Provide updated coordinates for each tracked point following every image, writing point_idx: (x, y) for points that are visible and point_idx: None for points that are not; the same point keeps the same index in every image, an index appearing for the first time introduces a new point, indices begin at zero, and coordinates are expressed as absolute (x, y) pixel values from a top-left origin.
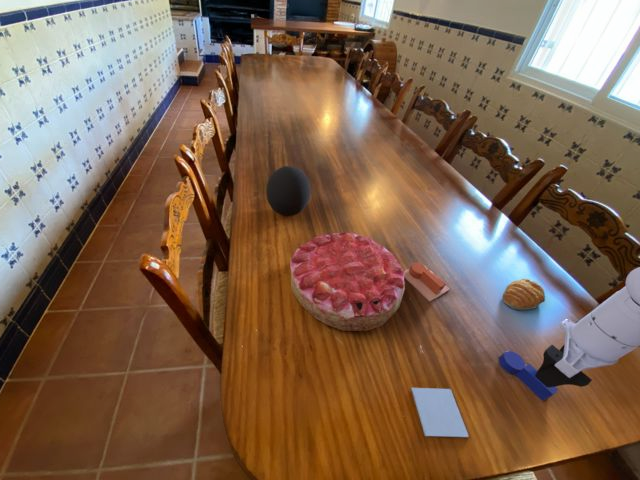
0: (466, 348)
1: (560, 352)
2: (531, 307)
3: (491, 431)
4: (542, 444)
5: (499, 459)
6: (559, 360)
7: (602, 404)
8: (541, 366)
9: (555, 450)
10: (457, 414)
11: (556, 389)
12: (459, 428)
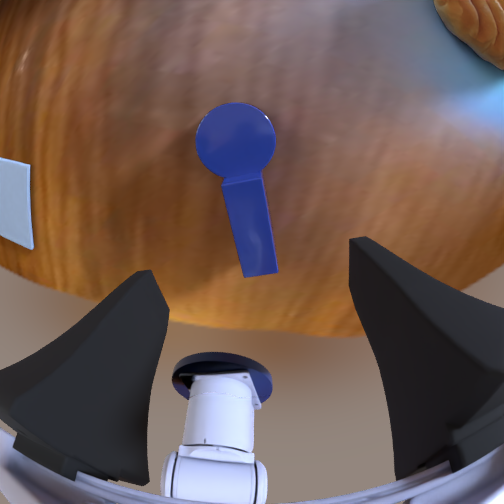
0: (132, 56)
1: (46, 444)
2: (489, 58)
3: (73, 253)
4: None
5: (70, 286)
6: (26, 438)
7: None
8: (79, 321)
9: (182, 313)
10: (23, 214)
11: (270, 271)
12: (22, 234)
